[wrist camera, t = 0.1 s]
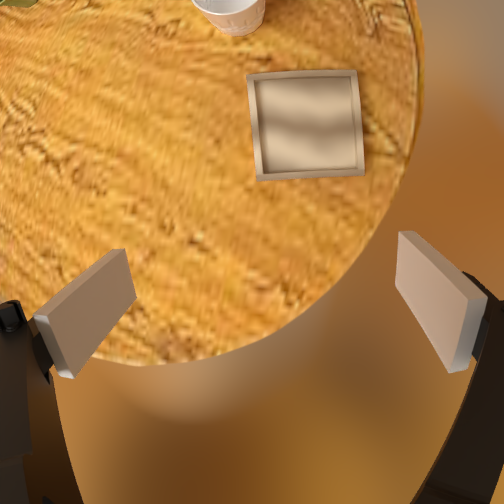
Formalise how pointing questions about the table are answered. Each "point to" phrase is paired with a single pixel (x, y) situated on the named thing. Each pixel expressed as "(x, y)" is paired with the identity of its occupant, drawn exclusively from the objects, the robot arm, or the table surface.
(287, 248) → the table surface
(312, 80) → the birch tray
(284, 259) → the table surface
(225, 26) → the white cup
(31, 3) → the plant pot
